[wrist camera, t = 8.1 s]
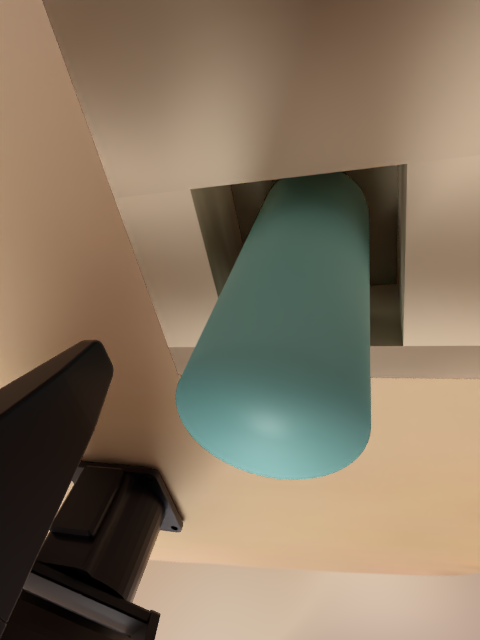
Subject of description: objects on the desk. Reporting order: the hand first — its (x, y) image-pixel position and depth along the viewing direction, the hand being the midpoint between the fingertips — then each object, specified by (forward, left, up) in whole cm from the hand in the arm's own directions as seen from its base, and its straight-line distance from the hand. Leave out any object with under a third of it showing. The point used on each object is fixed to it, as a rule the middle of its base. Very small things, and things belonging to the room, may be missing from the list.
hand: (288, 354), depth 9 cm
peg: (0, 0, -7) cm, 7 cm away
